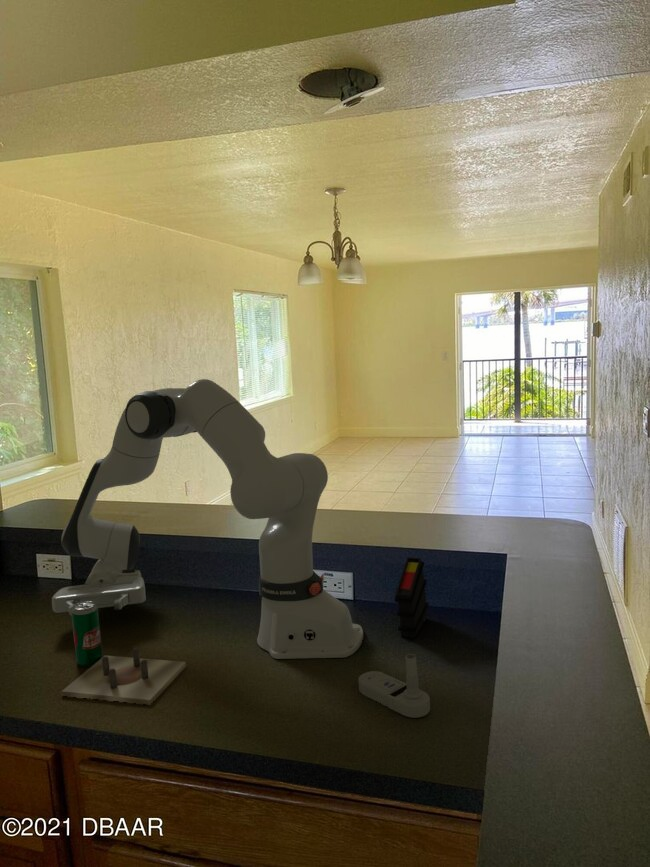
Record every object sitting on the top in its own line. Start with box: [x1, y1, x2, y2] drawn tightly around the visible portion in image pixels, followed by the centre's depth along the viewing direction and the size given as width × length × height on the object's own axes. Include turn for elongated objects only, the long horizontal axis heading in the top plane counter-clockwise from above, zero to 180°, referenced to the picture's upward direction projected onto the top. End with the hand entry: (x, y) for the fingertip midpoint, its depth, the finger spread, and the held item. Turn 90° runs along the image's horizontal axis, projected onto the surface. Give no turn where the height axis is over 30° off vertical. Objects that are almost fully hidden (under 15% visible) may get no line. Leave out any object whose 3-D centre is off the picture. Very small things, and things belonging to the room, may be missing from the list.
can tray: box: [61, 647, 187, 706], centre depth 123 cm, size 18×14×5 cm
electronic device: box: [357, 653, 431, 719], centre depth 112 cm, size 5×10×15 cm
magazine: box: [393, 557, 429, 638], centre depth 139 cm, size 4×13×15 cm, turn 157°
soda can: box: [70, 601, 104, 667], centre depth 132 cm, size 5×5×12 cm
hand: (95, 608), depth 141 cm, fingers open, 8 cm apart
